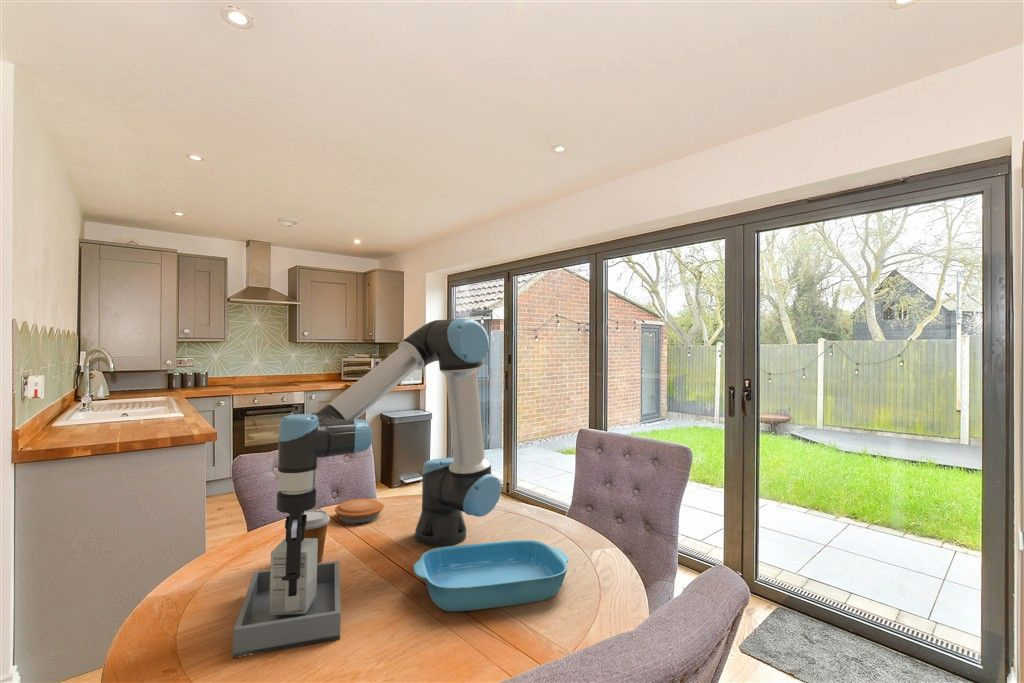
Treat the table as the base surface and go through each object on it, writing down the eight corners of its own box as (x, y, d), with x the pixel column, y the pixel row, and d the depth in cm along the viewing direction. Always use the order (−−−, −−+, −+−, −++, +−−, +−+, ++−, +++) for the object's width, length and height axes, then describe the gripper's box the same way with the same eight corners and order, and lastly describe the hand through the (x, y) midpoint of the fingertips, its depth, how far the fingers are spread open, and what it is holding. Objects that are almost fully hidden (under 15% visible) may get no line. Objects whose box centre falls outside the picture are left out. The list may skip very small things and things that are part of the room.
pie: (355, 530, 147) (356, 514, 147) (324, 519, 155) (324, 504, 155) (393, 516, 160) (394, 501, 160) (362, 507, 168) (363, 493, 168)
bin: (338, 581, 114) (339, 560, 114) (339, 639, 91) (340, 612, 92) (253, 593, 108) (254, 571, 108) (232, 658, 85) (233, 630, 85)
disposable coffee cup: (314, 571, 119) (315, 523, 119) (280, 567, 121) (282, 519, 121) (336, 555, 128) (337, 510, 129) (304, 552, 130) (305, 507, 130)
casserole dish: (547, 560, 128) (548, 533, 129) (585, 602, 107) (585, 570, 107) (408, 577, 117) (408, 548, 117) (419, 628, 96) (420, 592, 96)
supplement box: (281, 597, 103) (283, 537, 103) (317, 596, 104) (319, 537, 104) (267, 616, 96) (269, 551, 96) (305, 614, 96) (307, 551, 97)
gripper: (282, 477, 109) (279, 578, 108) (271, 506, 89) (267, 630, 88) (317, 475, 111) (315, 574, 111) (314, 502, 92) (311, 622, 91)
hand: (293, 598), depth 100 cm, fingers closed on supplement box, 8 cm apart
